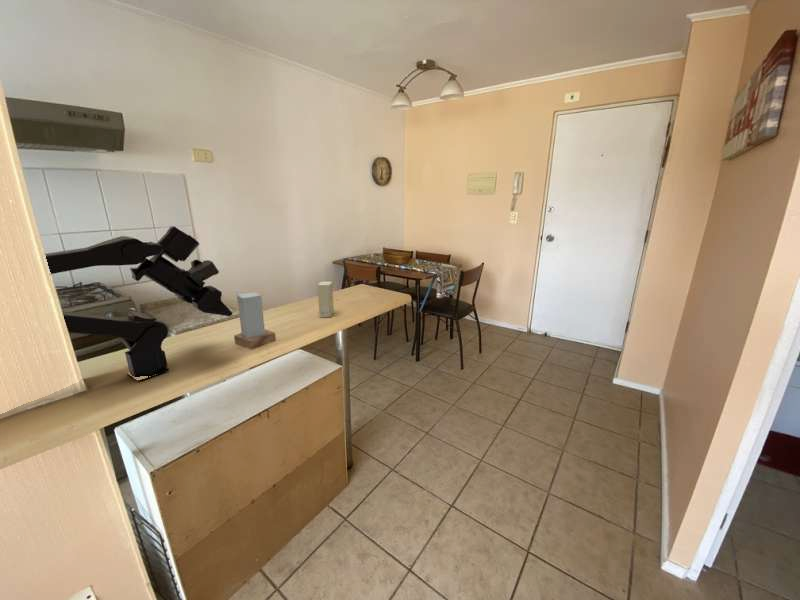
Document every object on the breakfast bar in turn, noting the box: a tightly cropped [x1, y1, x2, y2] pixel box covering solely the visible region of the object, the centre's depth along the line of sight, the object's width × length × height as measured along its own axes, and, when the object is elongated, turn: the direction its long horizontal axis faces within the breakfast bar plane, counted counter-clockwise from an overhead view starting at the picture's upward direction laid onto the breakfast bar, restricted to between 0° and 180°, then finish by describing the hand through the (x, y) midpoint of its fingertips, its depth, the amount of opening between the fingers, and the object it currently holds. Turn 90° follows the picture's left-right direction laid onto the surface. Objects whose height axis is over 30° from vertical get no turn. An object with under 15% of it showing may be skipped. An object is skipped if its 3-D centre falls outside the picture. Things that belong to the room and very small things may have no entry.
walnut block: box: [233, 329, 276, 350], centre depth 99 cm, size 8×8×3 cm
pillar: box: [236, 291, 266, 339], centre depth 96 cm, size 5×5×12 cm
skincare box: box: [316, 281, 335, 318], centre depth 122 cm, size 6×4×12 cm
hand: (224, 311), depth 90 cm, fingers open, 9 cm apart
